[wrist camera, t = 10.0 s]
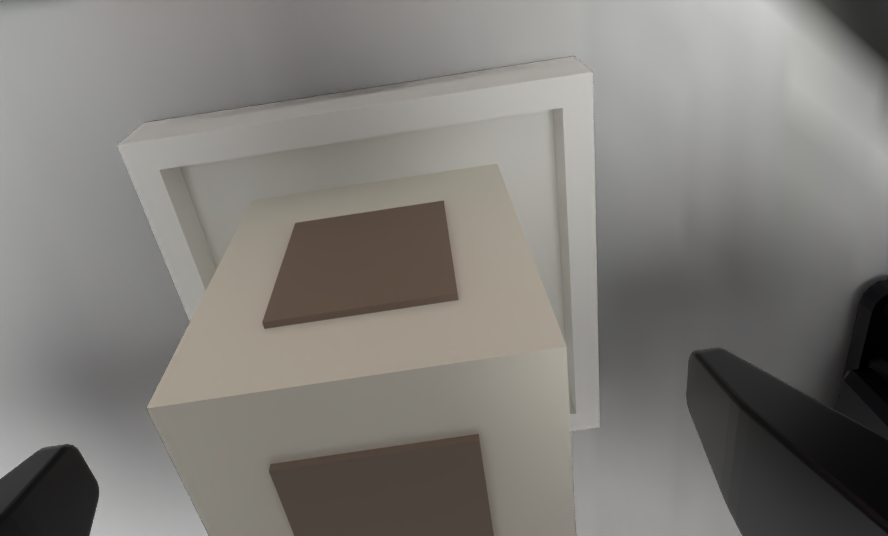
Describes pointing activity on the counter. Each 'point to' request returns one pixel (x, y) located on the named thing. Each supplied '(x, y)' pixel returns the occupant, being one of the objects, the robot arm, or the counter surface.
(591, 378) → the tray grey
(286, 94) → the counter surface
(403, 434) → the letter block
